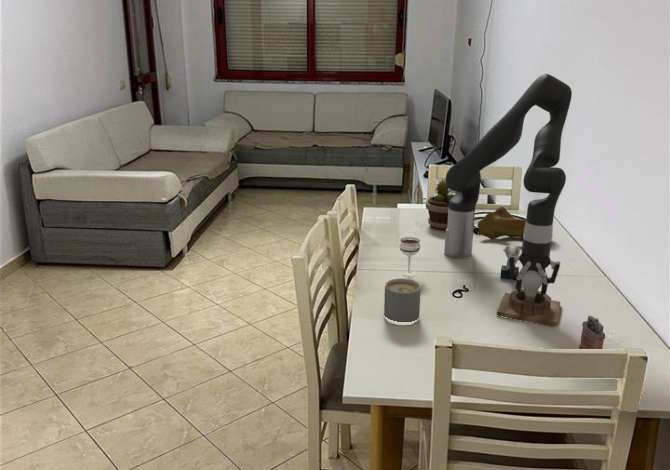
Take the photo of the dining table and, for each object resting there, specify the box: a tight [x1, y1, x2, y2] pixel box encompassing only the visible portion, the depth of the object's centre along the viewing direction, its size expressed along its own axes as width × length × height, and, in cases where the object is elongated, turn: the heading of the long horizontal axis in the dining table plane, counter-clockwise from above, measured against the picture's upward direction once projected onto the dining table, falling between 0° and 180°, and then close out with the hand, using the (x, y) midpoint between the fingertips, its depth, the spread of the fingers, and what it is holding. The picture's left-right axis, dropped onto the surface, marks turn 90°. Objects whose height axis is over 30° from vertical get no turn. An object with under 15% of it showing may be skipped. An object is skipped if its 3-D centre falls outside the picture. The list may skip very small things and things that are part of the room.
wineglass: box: [399, 236, 421, 273], centre depth 196 cm, size 7×7×12 cm
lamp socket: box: [496, 288, 561, 328], centre depth 171 cm, size 16×14×4 cm
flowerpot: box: [425, 176, 455, 231], centre depth 241 cm, size 14×15×20 cm
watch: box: [499, 244, 521, 282], centre depth 193 cm, size 6×8×11 cm
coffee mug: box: [383, 277, 422, 322], centre depth 168 cm, size 13×10×10 cm
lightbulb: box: [521, 270, 543, 303], centre depth 169 cm, size 6×6×11 cm
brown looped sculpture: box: [477, 206, 526, 240], centre depth 229 cm, size 18×13×22 cm
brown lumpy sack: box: [578, 315, 606, 350], centre depth 147 cm, size 8×3×10 cm, turn 5°
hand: (530, 292), depth 170 cm, fingers closed on lightbulb, 5 cm apart
